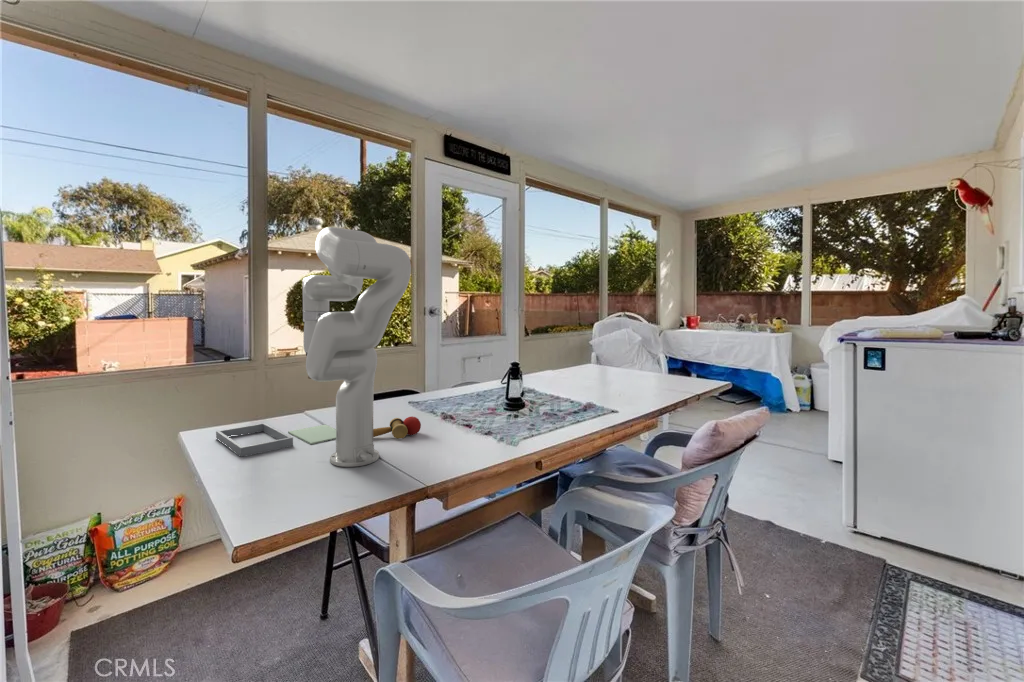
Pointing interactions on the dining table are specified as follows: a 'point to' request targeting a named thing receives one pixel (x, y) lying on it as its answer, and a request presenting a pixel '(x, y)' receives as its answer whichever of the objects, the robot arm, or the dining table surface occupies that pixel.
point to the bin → (282, 442)
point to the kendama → (400, 427)
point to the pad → (315, 434)
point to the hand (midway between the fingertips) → (317, 374)
